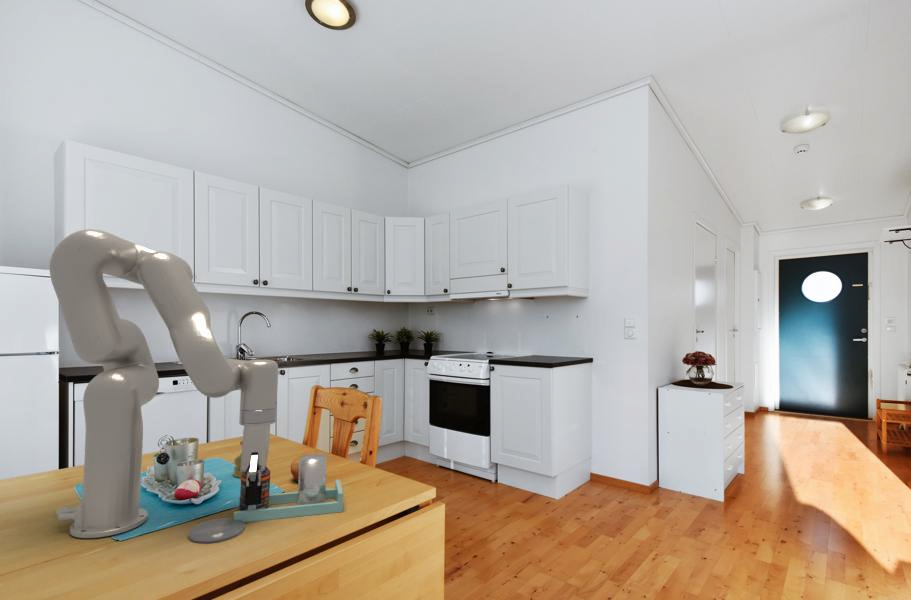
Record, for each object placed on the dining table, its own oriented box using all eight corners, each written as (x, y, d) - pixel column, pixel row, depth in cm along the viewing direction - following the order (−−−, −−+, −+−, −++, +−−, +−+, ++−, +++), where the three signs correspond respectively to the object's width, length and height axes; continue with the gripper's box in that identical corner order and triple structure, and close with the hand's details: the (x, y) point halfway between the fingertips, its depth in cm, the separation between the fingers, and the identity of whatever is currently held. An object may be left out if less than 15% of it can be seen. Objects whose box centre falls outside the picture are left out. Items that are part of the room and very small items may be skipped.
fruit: (333, 471, 125) (322, 449, 122) (313, 494, 119) (301, 471, 116) (313, 466, 129) (302, 444, 126) (293, 488, 124) (280, 465, 120)
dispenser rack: (233, 523, 95) (234, 503, 95) (239, 505, 104) (240, 487, 104) (342, 511, 102) (343, 493, 102) (339, 496, 111) (339, 479, 111)
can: (297, 513, 101) (299, 462, 101) (297, 503, 106) (299, 455, 107) (325, 510, 103) (327, 460, 103) (324, 500, 108) (326, 453, 109)
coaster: (182, 546, 85) (182, 543, 85) (194, 524, 94) (194, 521, 94) (241, 539, 88) (241, 536, 88) (247, 518, 98) (247, 515, 98)
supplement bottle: (257, 519, 97) (260, 465, 98) (232, 516, 98) (235, 462, 99) (274, 508, 103) (276, 457, 104) (250, 506, 104) (252, 455, 105)
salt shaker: (227, 477, 123) (229, 439, 124) (245, 469, 130) (247, 433, 131) (251, 479, 122) (253, 441, 122) (268, 471, 129) (270, 435, 129)
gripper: (244, 409, 109) (241, 486, 108) (234, 425, 93) (230, 515, 92) (278, 408, 111) (275, 483, 110) (274, 423, 95) (270, 511, 94)
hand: (254, 497), depth 101 cm, fingers open, 6 cm apart
